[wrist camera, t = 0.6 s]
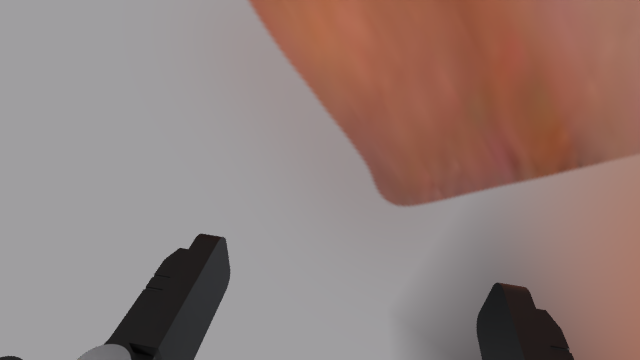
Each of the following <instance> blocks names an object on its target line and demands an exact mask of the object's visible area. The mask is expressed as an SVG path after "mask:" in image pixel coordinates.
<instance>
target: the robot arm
mask: <svg viewBox="0 0 640 360" xmlns="http://www.w3.org/2000/svg"><path fill="white" fill-rule="evenodd" d="M228 258H229V257H228V250H227V243H226V239H225V238H224V237H219V236H213V235H206V234H199V235H198V236H197V237H196V238H195V240H194V242H193V243H192V245H191V246H190V248H189V249H183V248H179V249H178V250H177V251H175V252H174V253H173V254H171V255H170V256H169V257H167V258H166V259H165V260H164V261H163V263H162V264H161V265H160V267H159V268H158V270H157V271H156V273H155V275H154V277H152V278H151V280H150V281H149V283H148V284H147V286H146V289H145V290H143V291H142V293H141V294H140V296H139V297H138V298H137V300H136V301H135V303H134V304H133V306H132V307H131V309H130V310H129V311H128V313H127V314H126V316H125V317H124V319H123V320H122V322H121V323H120V324H119V326H118V327H117V329H116V330H115V331H114V333H113V334H112V336H111V337H110V338H109V340H108V341H107V342H106V343H105V344H104V345H101V346H98V347H95V348H93V349H91V350H89V351H88V352H86V353H84V354H83V355H82V356H80V357H79V358H78V359H77V360H194V358H195V356H196V354H197V352H198V349H199V347H200V345H201V343H202V341H203V338H204V336H205V334H206V332H207V330H208V328H209V326H210V324H211V321H212V319H213V317H214V315H215V313H216V311H217V309H218V306H219V304H220V302H221V300H222V298H223V296H224V293H225V291H226V289H227V286H228V283H229V279H230V265H229V259H228ZM477 337H478V342H479V346H480V351H481V356H482V360H574V358H573V356H572V354H571V353H570V352H569V347H568V344H567V342H566V339H565V337H564V335H563V332H562V330H561V328H560V327H559V326H558V325H557V324H556V322H555V321H554V320H553V319H552V317H551V316H550V315H549V314H548V313H547V311H546V310H540V309H536V307H535V305H534V302H533V299H532V297H531V294H530V292H529V290H528V289H527V288H525V287H521V286H515V285H509V284H503V283H495V284H494V285H493V287H492V289H491V291H490V293H489V295H488V297H487V299H486V301H485V302H484V305H483V306H482V308H481V310H480V312H479V314H478V318H477ZM0 360H22V359H20V358H18V357H15V356H6V357H1V358H0Z"/></svg>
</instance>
